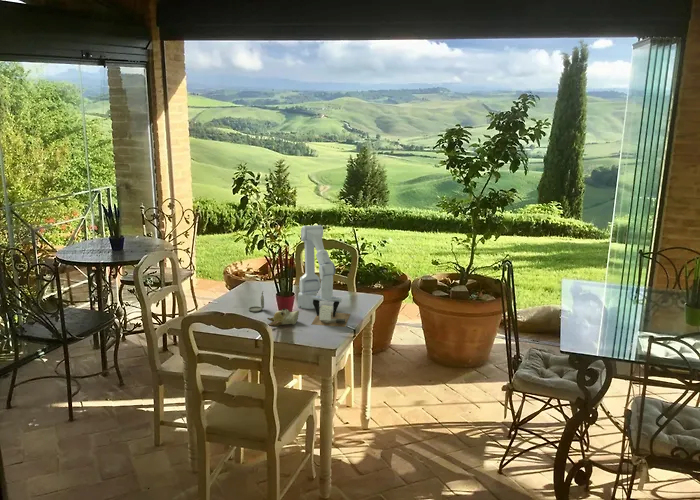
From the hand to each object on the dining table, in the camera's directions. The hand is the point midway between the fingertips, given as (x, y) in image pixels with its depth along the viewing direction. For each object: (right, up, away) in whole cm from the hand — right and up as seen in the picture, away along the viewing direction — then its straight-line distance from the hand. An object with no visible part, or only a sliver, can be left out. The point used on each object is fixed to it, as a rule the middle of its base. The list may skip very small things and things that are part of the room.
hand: (326, 315), depth 274 cm
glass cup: (-35, +1, +18) cm, 40 cm away
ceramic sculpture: (-20, -5, -2) cm, 21 cm away
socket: (0, -1, 0) cm, 1 cm away
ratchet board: (+2, -3, +5) cm, 6 cm away
